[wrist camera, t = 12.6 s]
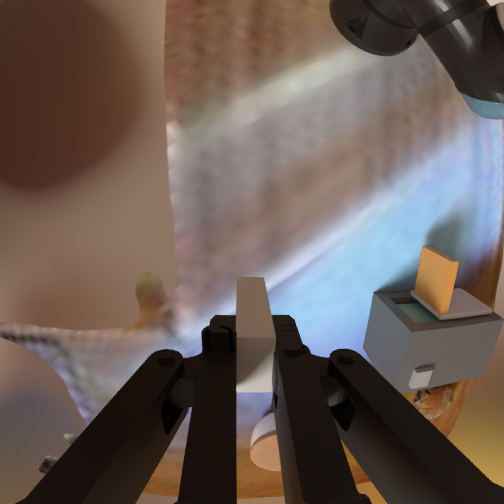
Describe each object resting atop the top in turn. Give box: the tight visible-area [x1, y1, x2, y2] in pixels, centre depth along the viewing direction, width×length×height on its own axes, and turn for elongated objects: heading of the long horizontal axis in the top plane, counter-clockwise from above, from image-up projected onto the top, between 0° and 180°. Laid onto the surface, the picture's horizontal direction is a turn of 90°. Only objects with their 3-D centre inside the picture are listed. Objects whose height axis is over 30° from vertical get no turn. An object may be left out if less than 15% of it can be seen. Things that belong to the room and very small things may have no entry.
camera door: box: [411, 246, 493, 320], centre depth 43 cm, size 9×12×10 cm
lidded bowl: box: [250, 412, 281, 471], centre depth 52 cm, size 13×13×11 cm
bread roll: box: [414, 384, 453, 419], centre depth 56 cm, size 10×10×8 cm
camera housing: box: [363, 291, 504, 394], centre depth 45 cm, size 11×22×15 cm, turn 88°
